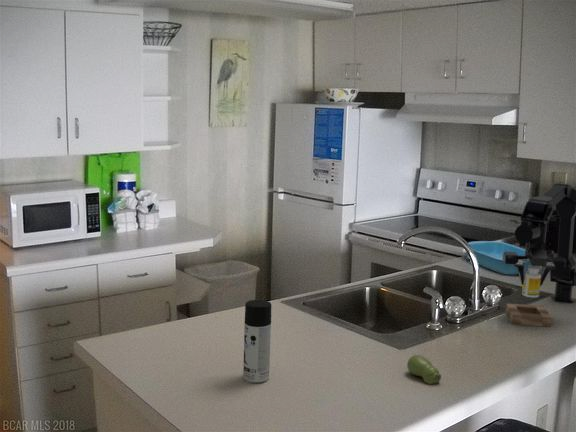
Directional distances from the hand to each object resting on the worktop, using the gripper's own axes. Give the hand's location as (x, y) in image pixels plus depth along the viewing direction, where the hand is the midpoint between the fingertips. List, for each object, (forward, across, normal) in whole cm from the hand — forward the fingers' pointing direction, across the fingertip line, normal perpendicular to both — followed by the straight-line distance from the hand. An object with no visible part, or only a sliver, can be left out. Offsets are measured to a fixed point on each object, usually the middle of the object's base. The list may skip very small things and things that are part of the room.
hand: (531, 284), depth 225 cm
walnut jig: (+12, 0, 0) cm, 12 cm away
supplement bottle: (+4, 0, 0) cm, 4 cm away
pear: (+12, -36, -53) cm, 66 cm away
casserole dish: (+13, +2, +68) cm, 69 cm away
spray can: (+11, -79, -62) cm, 101 cm away
